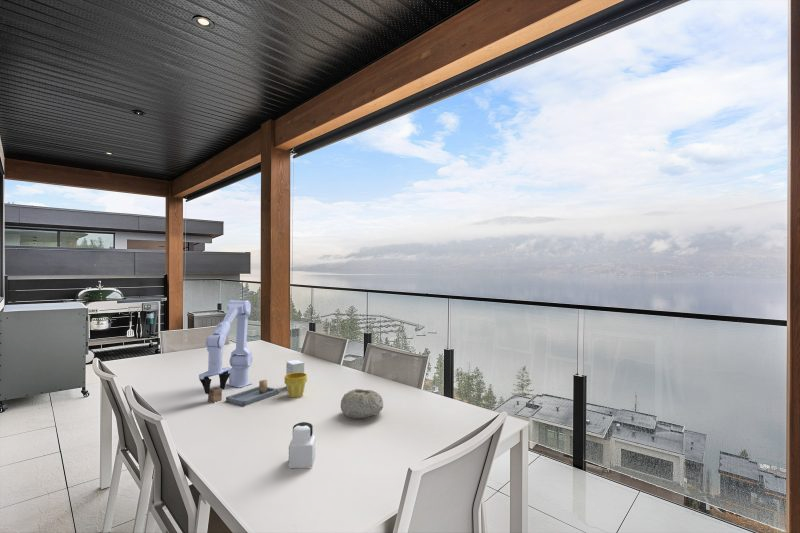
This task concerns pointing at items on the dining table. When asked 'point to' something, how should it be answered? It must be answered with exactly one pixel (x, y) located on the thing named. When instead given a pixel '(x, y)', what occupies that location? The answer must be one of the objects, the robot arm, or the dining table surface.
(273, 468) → the dining table surface
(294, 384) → the plant pot
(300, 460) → the white boxy piece
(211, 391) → the walnut block
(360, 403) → the round stone vase
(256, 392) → the parts tray
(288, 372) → the small box
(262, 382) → the oak peg
